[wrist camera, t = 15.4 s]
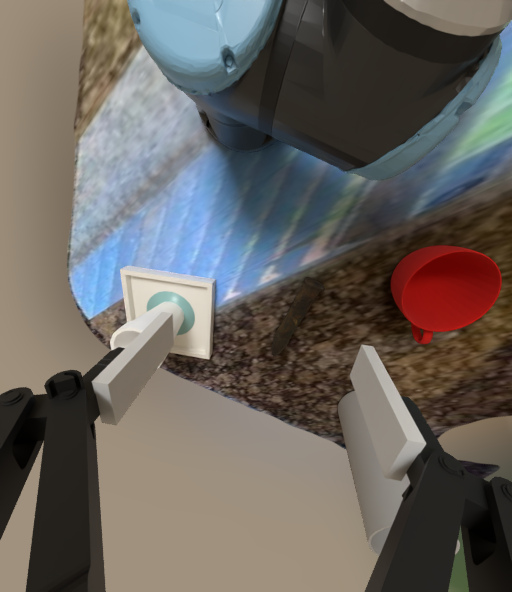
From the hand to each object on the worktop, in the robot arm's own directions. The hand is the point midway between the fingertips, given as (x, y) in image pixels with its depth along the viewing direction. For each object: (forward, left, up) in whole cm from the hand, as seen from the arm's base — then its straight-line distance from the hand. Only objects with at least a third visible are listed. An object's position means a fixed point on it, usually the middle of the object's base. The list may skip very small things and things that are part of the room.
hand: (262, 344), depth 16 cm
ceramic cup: (+3, +26, -31) cm, 40 cm away
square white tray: (+18, -21, -31) cm, 41 cm away
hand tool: (+14, +6, -31) cm, 35 cm away
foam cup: (+18, -21, -30) cm, 41 cm away
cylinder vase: (+36, +27, -31) cm, 55 cm away
